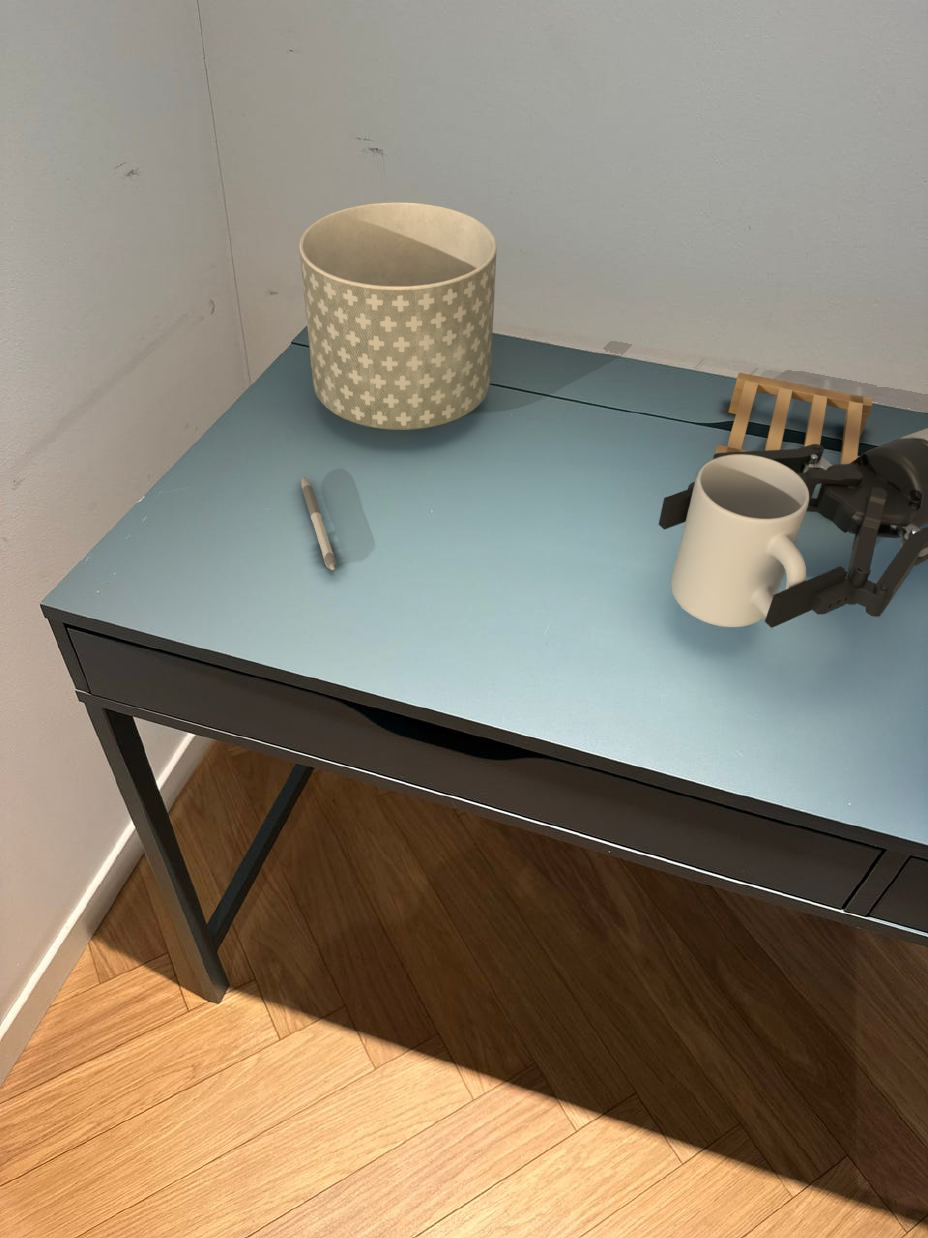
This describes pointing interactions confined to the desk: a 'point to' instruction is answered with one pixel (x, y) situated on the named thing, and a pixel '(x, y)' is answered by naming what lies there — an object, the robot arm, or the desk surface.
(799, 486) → the mug
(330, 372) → the planter
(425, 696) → the desk surface
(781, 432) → the rack
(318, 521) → the pen
